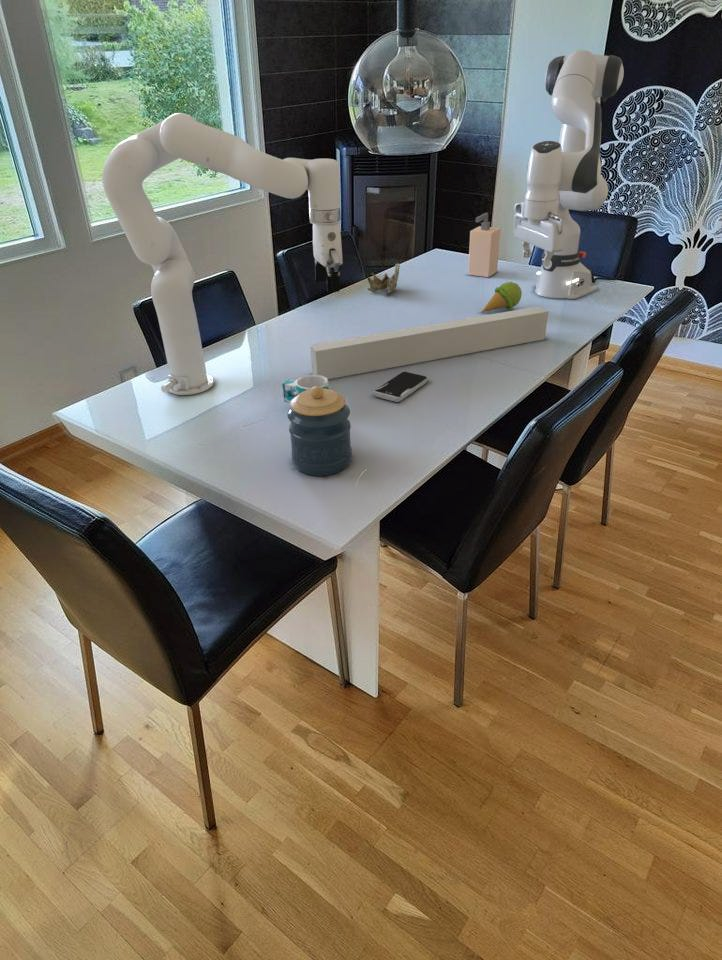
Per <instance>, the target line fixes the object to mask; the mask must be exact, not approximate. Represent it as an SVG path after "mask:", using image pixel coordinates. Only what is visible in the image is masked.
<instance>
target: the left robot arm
mask: <svg viewBox="0 0 722 960" xmlns="http://www.w3.org/2000/svg"><path fill="white" fill-rule="evenodd" d="M179 159H180V160H182V161H185V162H189V163H191V164H195V165H197V166H200V167H203V168H205V169H209V170H212V171H215V172H217V173H221V174H223V175H226V176H228V177H230V178H232V179H234V180H236V181H239V182H242V183H243V184H247V185H249V186H252V187H253V188H256V189H258V190H261V191H264V192H267V193H270V194H273V195H275V196H279V197H282V198H285V199H292V200H293V199H298V198H300V197H302V196H303V195H304V194H305V193H306V191H307V192H308V193H307V194H308V214H309V216H308V217H309V223H310V224H312V252H313V258H314V277H315V279H314V280H315V282H317V283H320V282H326V292H327V293H328V294H329V293H339V292H340V291H341V282H340V275H341V273H340V270H341V268H340V266H342V265H343V263H344V262H343V261H344V260H343V248H342V234H341V227H340V223H341V222H342V221H341V219H342V217H341V213H342V212H341V176H340V175H341V172H340V163H339V162H338V161H337V160H336V159H333V158H325V157H324V158H314V159H306V158H298V157H286V158H283V159H282V158H278V157H276V156H273V155H271V154H268V153H266V152H264V151H261V150H259V149H257V148H255V147H253V146H252V145H250V144H249V143H248V142H246V141H245V140H244V139H243V138H241V137H239V136H237V135H235V134H234V133H233V134H232V133H230V132H228V131H224V130H221V129H219V128H215V127H213V126H210V125H207V124H204V123H202V122H200V121H197V120H196V119H195V118H194V117H193V116H191V115H190V114H188V113H184V112H174V113H173V114H171V115H169V116H167V117H166V118H165V119H163V120H161V121H159V122H157V123H156V124H153V125H152V126H149V127H148V128H146V129H143V130H142V131H140V132H138V133H135V134H134V135H132V136H130V137H128V138H126V139H124V140H122V141H121V142H119V143H118V144H117V145H116V146H115V147H114V148H113V149H112V150H111V152H110V153H109V155H108V156H107V157H106V160H105V162H104V165H103V168H102V175H101V176H102V177H101V178H102V179H101V180H102V187H103V191H104V193H105V195H106V198H107V200H108V202H109V204H110V206H111V208H112V210H113V212H114V214H115V216H116V218H117V220H118V223H119V225H120V226H121V229H122V231H123V232H124V235H125V236H126V238H127V240H128V242H129V244H130V247H131V249H132V251H133V253H134V255H135V256H136V257H137V259H138V260H139V261H140V262H142V263H143V264H145V265H148V266H151V268H152V270H153V272H154V275H153V277H152V280H151V283H150V284H151V285H150V295H151V300H152V302H153V306H154V309H155V312H156V316H157V320H158V325H159V331H160V333H161V339H162V344H163V348H164V354H165V358H166V363H167V368H168V373H169V374H168V375H167V378H168V380H167V381H166V383H164V384H163V385H162V386H161V387H160V390H161V391H162V393H171V394H173V395H176V396H177V395H178V396H190V395H197V394H201V393H203V392H206V391H208V390H210V389H211V388H212V387H213V385H214V383H215V380H214V377H213V376H212V375H211V374H209V373H207V368H206V362H205V356H204V351H203V345H202V340H201V333H200V327H199V322H198V317H197V312H196V308H195V303H194V299H193V289H194V285H195V281H196V280H195V279H196V277H195V276H196V275H195V271H194V269H193V266H192V264H191V262H190V260H189V257H188V255H187V253H186V252H185V249H184V247H183V245H182V243H181V241H180V239H179V236H178V233H177V232H176V231H175V229H174V227H173V226H172V225H171V224H170V222H168V221H167V220H166V219H164V218H162V217H161V216H157V213H156V211H155V210H154V207H153V204H152V203H151V201H150V198H149V197H148V194H146V192H145V190H144V188H143V187H144V186H143V183H144V181H145V180H146V179H147V178H149V176H151V175H152V174H153V173H154V172H156V171H157V170H160V169H162V168H163V167H165V166H167V165H169V164H171V163H173V162H174V161H177V160H179Z"/></svg>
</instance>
